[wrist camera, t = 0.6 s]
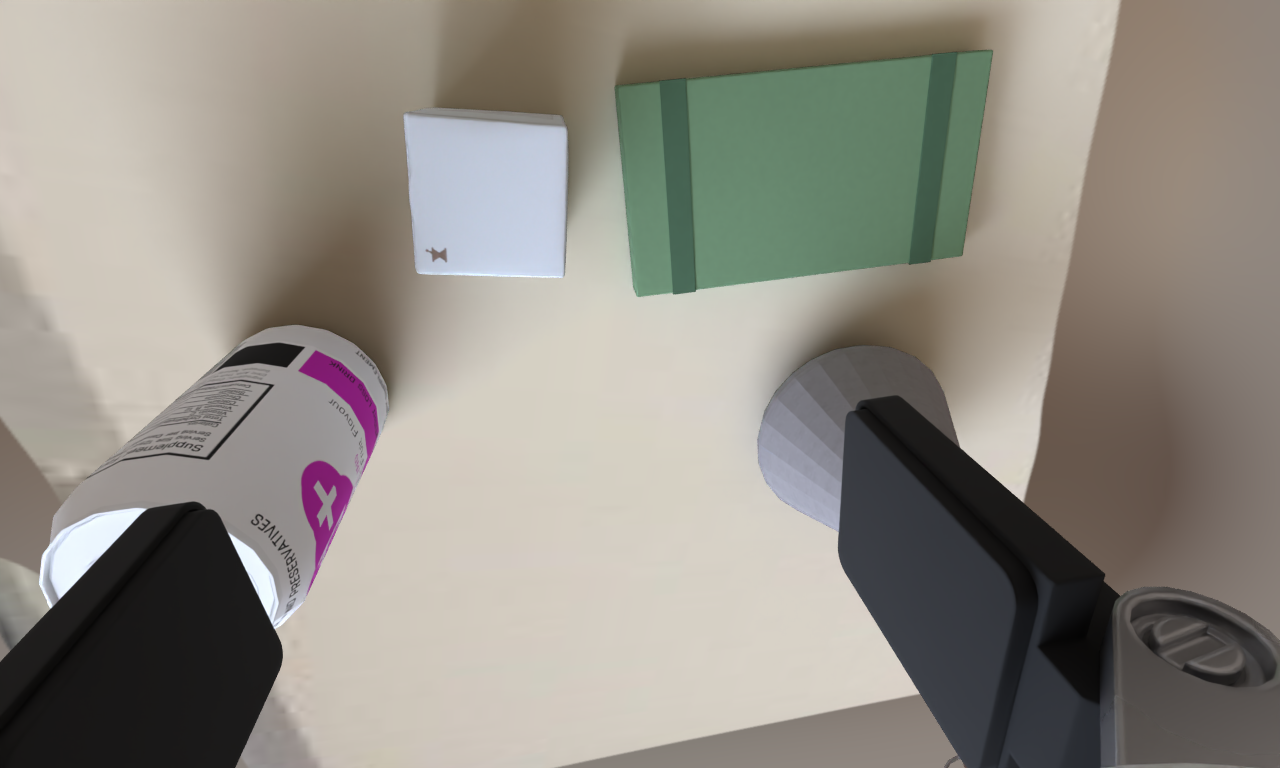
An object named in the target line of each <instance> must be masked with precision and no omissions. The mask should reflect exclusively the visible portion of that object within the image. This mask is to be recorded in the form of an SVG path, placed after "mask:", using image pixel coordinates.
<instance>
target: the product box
mask: <svg viewBox="0 0 1280 768" xmlns="http://www.w3.org/2000/svg"><path fill="white" fill-rule="evenodd" d="M403 119H404V130H405V142H406V154H407V166H408V178H409V201H410V207H411V217H412V231H413V244H414V257H415V268H416V271H417V272H418V273H419V274H435V275H474V276H513V277H556V278H562V277H564V275H565V263H566V241H567V209H568V128H567V126H566V124H565V122H564V119H563V117H562V116H561V115H552V114H537V113H522V112H507V111H489V110H471V109H452V108H425V109H420V110H416V111H410V112H405V113H404V116H403Z"/></svg>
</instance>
